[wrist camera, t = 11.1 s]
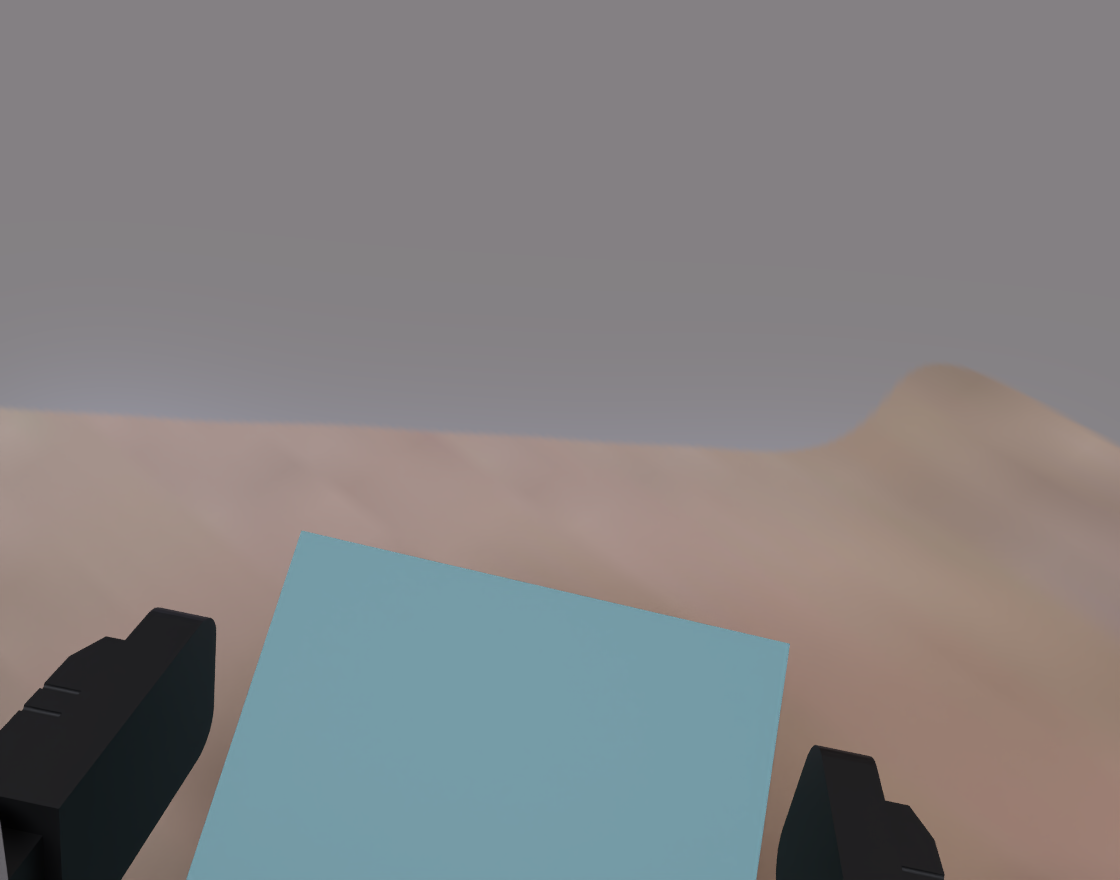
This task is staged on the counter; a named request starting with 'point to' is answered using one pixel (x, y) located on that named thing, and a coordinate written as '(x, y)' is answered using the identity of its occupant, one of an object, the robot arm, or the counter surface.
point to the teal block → (489, 734)
